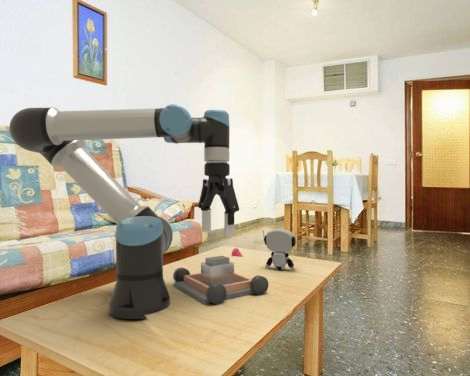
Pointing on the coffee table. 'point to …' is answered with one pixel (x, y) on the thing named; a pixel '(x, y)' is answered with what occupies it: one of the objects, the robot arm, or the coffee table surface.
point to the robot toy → (280, 248)
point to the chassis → (218, 287)
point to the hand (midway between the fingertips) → (217, 233)
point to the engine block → (217, 271)
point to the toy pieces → (236, 252)
